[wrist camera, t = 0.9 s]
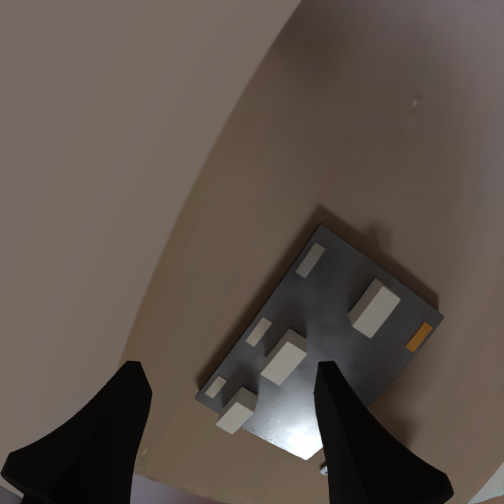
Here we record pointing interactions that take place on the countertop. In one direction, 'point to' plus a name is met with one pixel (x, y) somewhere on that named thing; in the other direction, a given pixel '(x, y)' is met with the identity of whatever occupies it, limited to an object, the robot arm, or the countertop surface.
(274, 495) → the countertop surface
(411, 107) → the countertop surface
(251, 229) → the countertop surface
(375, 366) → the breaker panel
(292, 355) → the block
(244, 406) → the block
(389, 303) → the block
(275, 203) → the countertop surface
